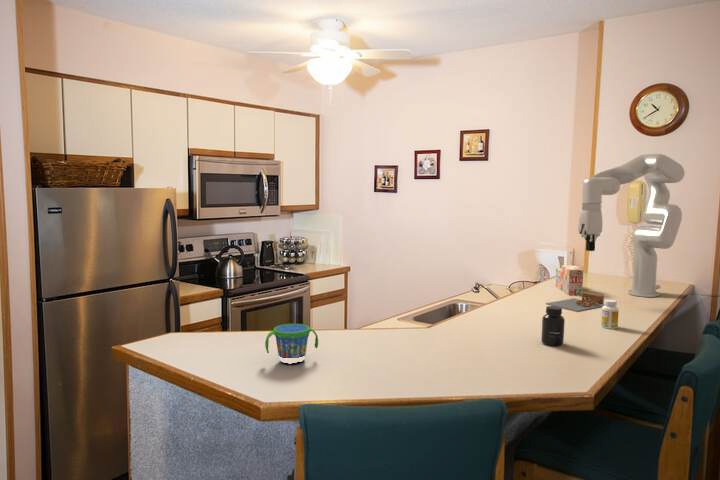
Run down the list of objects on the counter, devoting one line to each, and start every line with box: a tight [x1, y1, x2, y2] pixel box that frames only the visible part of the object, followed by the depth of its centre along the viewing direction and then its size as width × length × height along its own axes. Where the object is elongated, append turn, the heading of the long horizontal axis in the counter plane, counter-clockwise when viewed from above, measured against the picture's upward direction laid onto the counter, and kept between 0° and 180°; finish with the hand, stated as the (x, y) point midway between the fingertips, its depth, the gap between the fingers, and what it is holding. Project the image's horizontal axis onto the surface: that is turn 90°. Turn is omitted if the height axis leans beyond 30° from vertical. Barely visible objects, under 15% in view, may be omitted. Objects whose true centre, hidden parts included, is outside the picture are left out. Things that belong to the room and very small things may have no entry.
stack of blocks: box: [555, 264, 584, 297], centre depth 255 cm, size 21×6×12 cm, turn 175°
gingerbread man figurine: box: [576, 291, 605, 307], centre depth 226 cm, size 9×4×12 cm
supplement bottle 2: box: [600, 299, 620, 330], centre depth 192 cm, size 5×5×10 cm
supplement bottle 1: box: [540, 305, 566, 347], centre depth 173 cm, size 7×7×12 cm
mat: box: [545, 298, 605, 313], centre depth 227 cm, size 18×16×1 cm
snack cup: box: [264, 323, 319, 358], centre depth 158 cm, size 16×10×10 cm
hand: (590, 250), depth 228 cm, fingers closed
